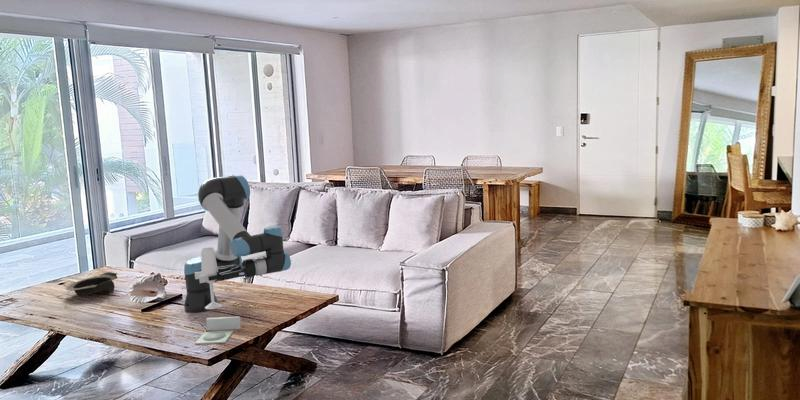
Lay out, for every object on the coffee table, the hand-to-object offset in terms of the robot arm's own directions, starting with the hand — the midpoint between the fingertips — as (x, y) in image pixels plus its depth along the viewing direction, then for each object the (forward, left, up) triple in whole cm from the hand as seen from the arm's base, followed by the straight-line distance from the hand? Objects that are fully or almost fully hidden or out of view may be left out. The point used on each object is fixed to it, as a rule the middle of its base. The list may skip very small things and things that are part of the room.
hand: (197, 277), depth 241 cm
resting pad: (+4, +2, -26) cm, 26 cm away
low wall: (+5, +12, -26) cm, 29 cm away
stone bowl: (-83, +77, -26) cm, 116 cm away
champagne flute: (+4, +3, -13) cm, 14 cm away
